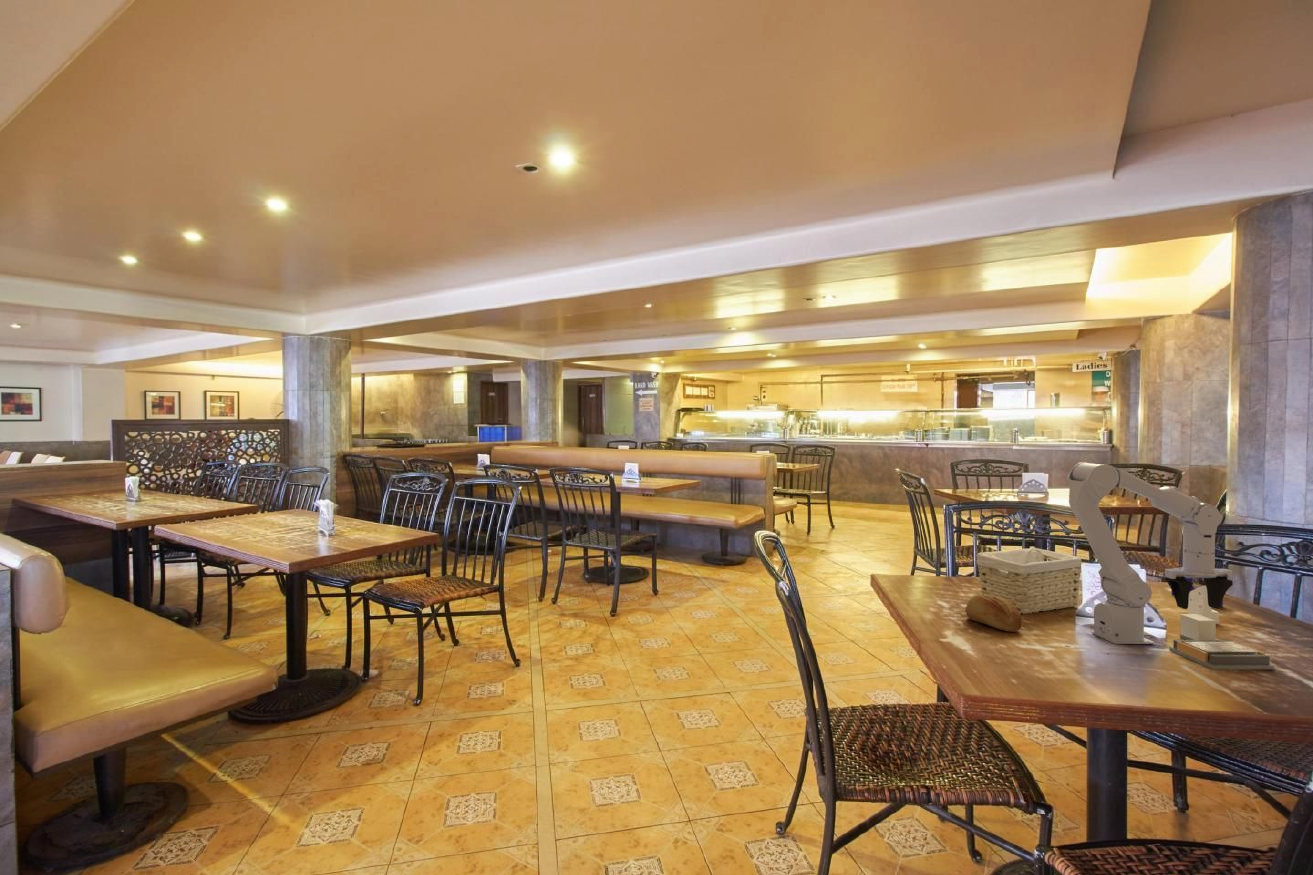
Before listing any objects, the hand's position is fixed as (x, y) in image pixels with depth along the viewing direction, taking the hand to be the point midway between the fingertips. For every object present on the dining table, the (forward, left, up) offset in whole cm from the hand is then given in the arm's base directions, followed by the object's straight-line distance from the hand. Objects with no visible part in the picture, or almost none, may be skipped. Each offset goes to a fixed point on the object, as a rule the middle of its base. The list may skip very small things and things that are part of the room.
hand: (1198, 607), depth 144 cm
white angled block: (+16, +16, -9) cm, 24 cm away
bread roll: (-43, +12, -9) cm, 46 cm away
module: (0, 0, -8) cm, 8 cm away
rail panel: (-5, -11, -8) cm, 15 cm away
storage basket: (-22, +31, -9) cm, 39 cm away
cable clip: (+30, +34, -9) cm, 47 cm away
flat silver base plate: (-5, -11, -6) cm, 14 cm away
